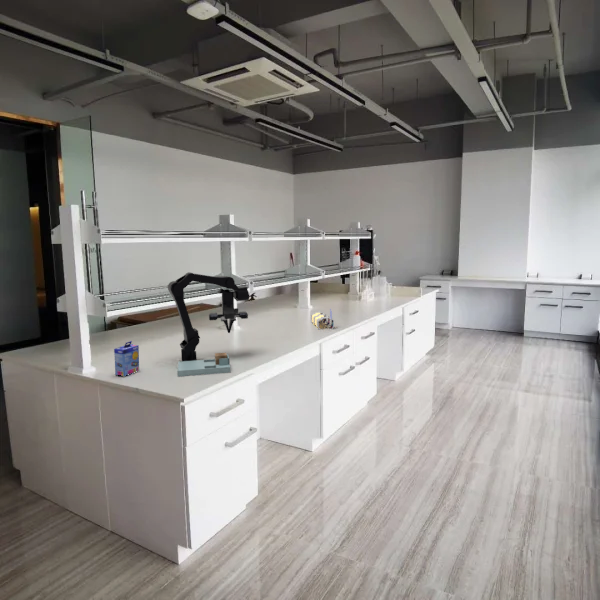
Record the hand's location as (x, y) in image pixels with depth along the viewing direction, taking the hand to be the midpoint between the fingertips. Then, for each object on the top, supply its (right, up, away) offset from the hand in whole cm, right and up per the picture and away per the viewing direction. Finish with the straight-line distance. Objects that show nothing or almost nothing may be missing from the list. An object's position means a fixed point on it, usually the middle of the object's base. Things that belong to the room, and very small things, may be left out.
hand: (228, 332), depth 224 cm
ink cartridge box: (-41, -16, -25) cm, 51 cm away
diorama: (+50, -1, +77) cm, 92 cm away
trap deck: (-8, -15, -21) cm, 27 cm away
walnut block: (-1, -12, -19) cm, 23 cm away
